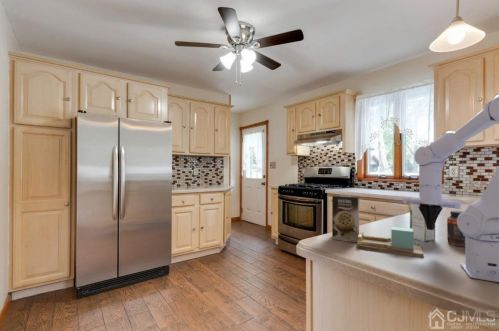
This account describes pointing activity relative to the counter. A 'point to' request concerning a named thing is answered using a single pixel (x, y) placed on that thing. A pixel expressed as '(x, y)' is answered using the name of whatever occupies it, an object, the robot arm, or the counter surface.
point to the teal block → (402, 237)
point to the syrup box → (420, 225)
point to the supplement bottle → (454, 230)
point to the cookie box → (345, 218)
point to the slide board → (386, 245)
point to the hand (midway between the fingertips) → (430, 229)
